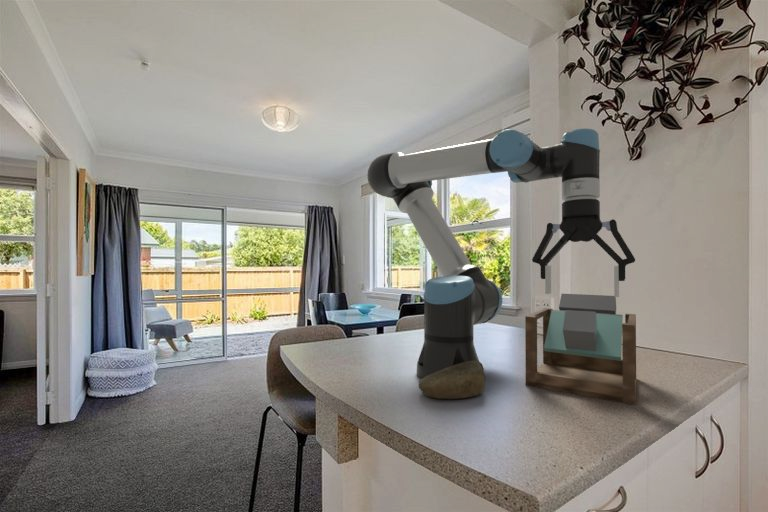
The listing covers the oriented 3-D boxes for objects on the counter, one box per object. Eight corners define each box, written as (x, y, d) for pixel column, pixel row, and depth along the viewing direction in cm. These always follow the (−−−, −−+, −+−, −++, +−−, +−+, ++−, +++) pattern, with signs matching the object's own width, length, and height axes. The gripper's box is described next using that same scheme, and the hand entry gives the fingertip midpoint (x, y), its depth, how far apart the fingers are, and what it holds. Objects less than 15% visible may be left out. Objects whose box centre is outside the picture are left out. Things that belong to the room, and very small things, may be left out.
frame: (525, 385, 82) (525, 316, 82) (544, 365, 98) (544, 308, 99) (635, 404, 70) (634, 325, 71) (636, 378, 87) (635, 314, 87)
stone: (503, 389, 75) (486, 348, 73) (450, 432, 71) (430, 390, 68) (476, 373, 83) (460, 336, 81) (427, 411, 79) (409, 374, 76)
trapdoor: (546, 359, 88) (543, 347, 86) (557, 304, 100) (555, 292, 98) (621, 369, 79) (620, 357, 77) (623, 308, 91) (622, 296, 89)
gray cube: (565, 348, 84) (562, 329, 80) (568, 328, 87) (565, 310, 84) (596, 351, 80) (594, 332, 77) (597, 330, 84) (595, 311, 81)
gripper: (518, 202, 88) (519, 293, 87) (648, 191, 73) (649, 299, 73) (526, 207, 94) (527, 291, 93) (648, 197, 80) (649, 296, 79)
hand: (580, 295), depth 83 cm, fingers open, 13 cm apart
